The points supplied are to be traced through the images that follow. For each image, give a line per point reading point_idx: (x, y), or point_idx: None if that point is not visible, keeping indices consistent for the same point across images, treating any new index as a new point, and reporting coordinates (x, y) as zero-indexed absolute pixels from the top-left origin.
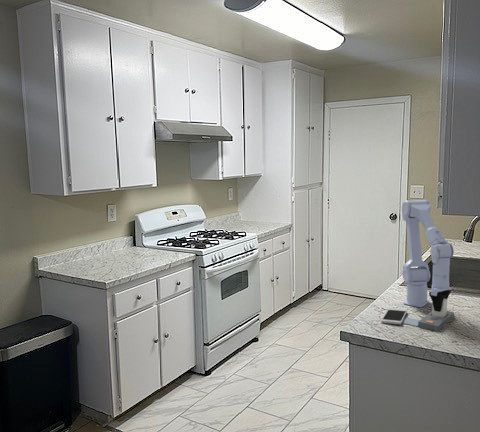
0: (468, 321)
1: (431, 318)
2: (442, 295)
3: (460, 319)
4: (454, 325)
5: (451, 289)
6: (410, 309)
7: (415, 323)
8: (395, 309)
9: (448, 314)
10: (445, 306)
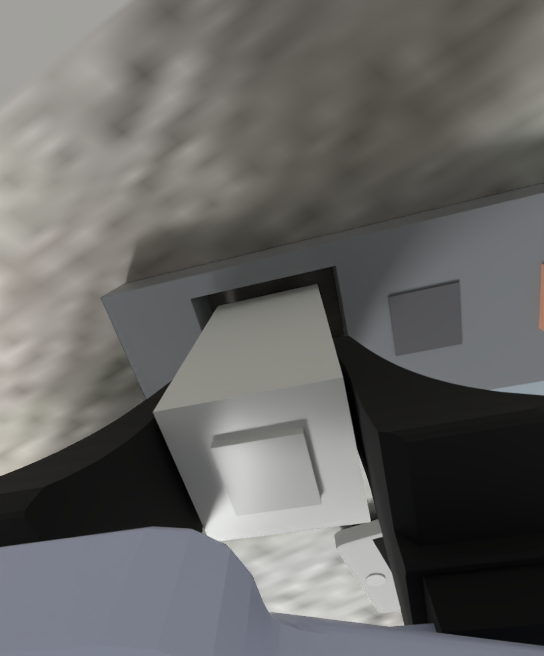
0: (92, 135)
1: (445, 337)
2: (534, 472)
3: (115, 218)
4: (304, 162)
5: (63, 542)
6: (252, 540)
7: (528, 391)
8: (381, 586)
9: (193, 303)
10: (242, 345)
